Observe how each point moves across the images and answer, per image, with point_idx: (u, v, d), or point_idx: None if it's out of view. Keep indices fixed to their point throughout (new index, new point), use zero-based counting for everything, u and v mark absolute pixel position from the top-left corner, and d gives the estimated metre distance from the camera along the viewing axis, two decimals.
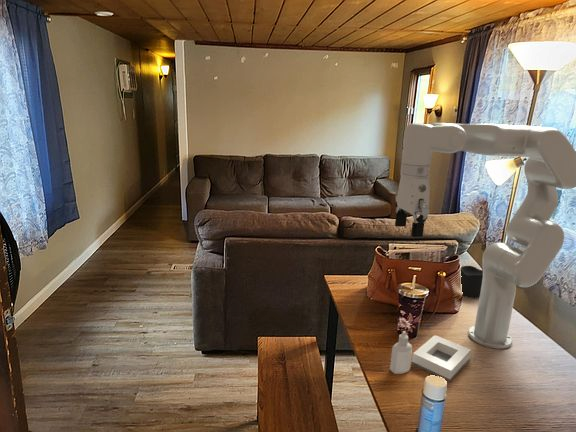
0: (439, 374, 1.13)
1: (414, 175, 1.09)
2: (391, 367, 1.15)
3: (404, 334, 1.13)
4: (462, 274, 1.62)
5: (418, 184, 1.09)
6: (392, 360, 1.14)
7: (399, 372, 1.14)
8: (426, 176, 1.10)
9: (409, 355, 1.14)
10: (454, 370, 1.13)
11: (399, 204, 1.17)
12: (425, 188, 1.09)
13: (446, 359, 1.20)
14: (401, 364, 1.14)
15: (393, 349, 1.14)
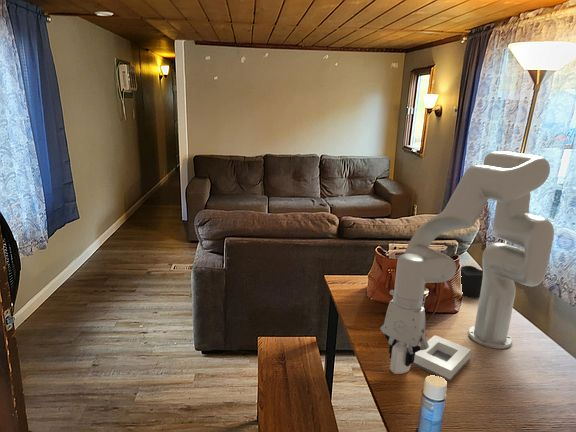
0: (439, 374, 1.13)
1: None
2: (391, 367, 1.15)
3: None
4: (462, 274, 1.62)
5: None
6: (392, 360, 1.14)
7: (399, 372, 1.14)
8: (393, 301, 1.12)
9: None
10: (454, 370, 1.13)
11: None
12: None
13: (446, 359, 1.20)
14: (401, 364, 1.13)
15: (393, 349, 1.14)
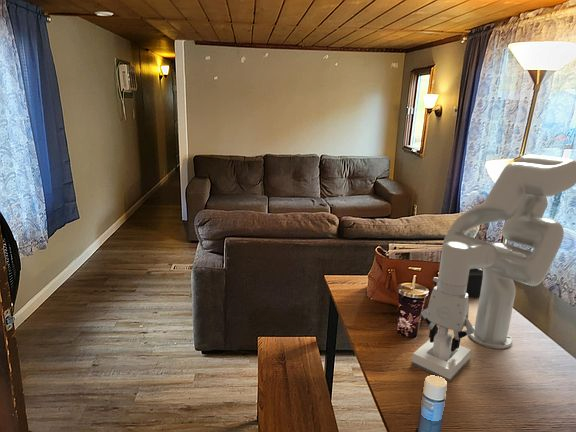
0: (439, 374, 1.13)
1: None
2: None
3: None
4: None
5: None
6: (434, 351, 1.18)
7: None
8: (436, 287, 1.15)
9: (450, 343, 1.18)
10: (454, 370, 1.13)
11: None
12: None
13: None
14: (444, 353, 1.18)
15: (434, 339, 1.17)
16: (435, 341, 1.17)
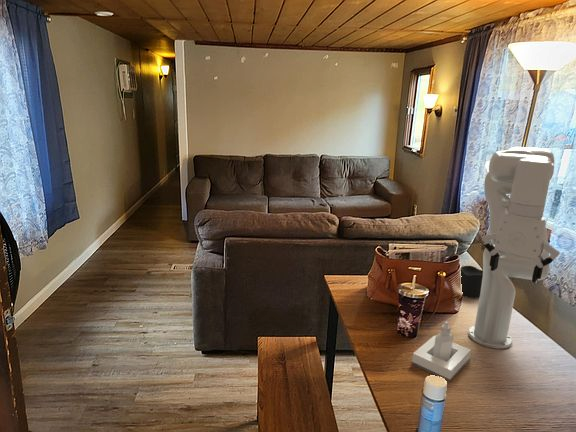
0: (439, 374, 1.13)
1: None
2: None
3: (447, 324, 1.17)
4: (462, 274, 1.62)
5: None
6: (435, 351, 1.18)
7: None
8: (508, 212, 1.03)
9: (451, 344, 1.18)
10: (454, 370, 1.13)
11: None
12: None
13: None
14: (444, 353, 1.18)
15: (436, 339, 1.17)
16: (436, 341, 1.17)
